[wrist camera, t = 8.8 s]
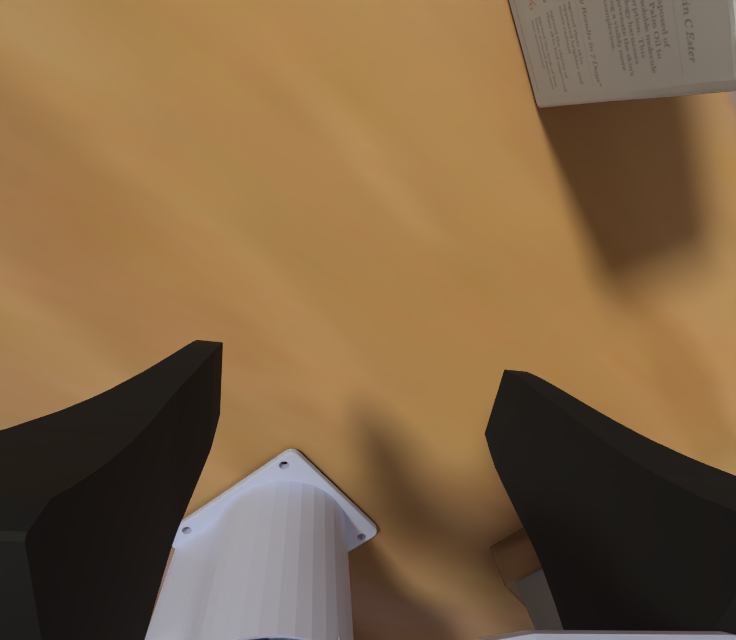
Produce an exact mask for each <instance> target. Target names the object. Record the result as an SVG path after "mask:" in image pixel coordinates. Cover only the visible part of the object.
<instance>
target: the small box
mask: <svg viewBox="0 0 736 640" xmlns="http://www.w3.org/2000/svg"><path fill="white" fill-rule="evenodd" d="M509 2H510V6H511V10H512V13H513V17H514V21H515V25H516V28H517V32H518V36H519V39H520V43H521V47H522V50H523V54H524V57H525V61H526V65H527V69H528V72H529V76H530V80H531V84H532V87H533V91H534V95H535V99H536V103H537V105H538V107H540V108H544V107H554V106H564V105H575V104H586V103H595V102H608V101H621V100H632V99H645V98H661V97H674V96H684V95H695V94H704V93H718V92H730V91H736V0H509Z"/></svg>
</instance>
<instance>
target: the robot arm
mask: <svg viewBox="0 0 736 640" xmlns="http://www.w3.org/2000/svg"><path fill="white" fill-rule="evenodd" d="M222 349H223V343H222V342H212V341H202V340H196V341H194V342H192V343H190V344H188V345H187V346H185V347H183V348H182V349H180V350H179V351H177V352H175V353H174V354H172V355H171V356H169V357H167V358H166V359H164V360H162V361H161V362H159V363H157V364H156V365H154V366H152V367H151V368H149V369H147V370H146V371H144V372H142V373H140V374H138V375H136V376H134V377H132V378H131V379H129V380H127V381H125V382H123V383H121V384H119V385H117V386H115V387H114V388H112V389H110V390H108V391H105V392H103V393H101V394H99V395H97V396H95V397H92V398H90V399H88V400H85V401H83V402H81V403H78V404H76V405H73V406H71V407H68V408H66V409H63V410H61V411H58V412H55V413H52V414H49V415H46V416H43V417H40V418H37V419H34V420H31V421H28V422H25V423H22V424H19V425H16V426H13V427H10V428H7V429H4V430H0V640H354V637H353V621H352V606H351V590H350V574H349V558H348V552H349V551H351V550H353V549H354V548H356V547H357V546H359V545H361V544H362V543H364V542H366V541H367V540H369V539H371V538H372V537H374V536H375V535H376V533H377V529H376V525H375V524H374V523H373V522H372V521H371V520H370V519H369V518H368V517H367V516H366V515H365V514H364V513H363V512H362V511H361V510H360V509H359V508H358V507H357V506H356V505H355V504H353V503H352V502H351V501H350V500H349V499H348V498H347V497H346V496H345V495H344V494H343V493H342V492H341V491H340V490H339V489H338V488H337V487H336V486H335V485H334V484H333V483H332V482H330V481H329V480H328V479H327V478H326V477H325V476H324V475H323V474H322V473H321V472H320V471H319V470H318V469H317V468H316V467H315V466H314V465H313V464H312V463H311V462H310V461H309V460H307V459H306V458H305V457H304V456H303V455H302V454H301V453H300V452H299V451H298V450H296V449H288V450H286V451H284V452H283V453H281V454H280V455H278V456H277V457H275V458H274V459H272V460H271V461H269V462H268V463H266V464H265V465H263V466H262V467H261V468H259V469H258V470H256V471H255V472H253V473H252V474H250V475H249V476H247V477H246V478H244V479H243V480H241V481H240V482H238V483H237V484H235V485H234V486H232V487H231V488H229V489H228V490H226V491H225V492H224V493H222V494H221V495H219V496H218V497H216V498H215V499H213V500H212V501H210V502H209V503H207V504H206V505H204V506H203V507H201V508H200V509H198V510H197V511H195V512H194V513H192V514H191V515H190V516H188V517H187V518H185V519H184V520H182V518H183V516H184V514H185V511H186V509H187V506H188V504H189V501H190V499H191V497H192V494H193V492H194V489H195V487H196V484H197V482H198V480H199V477H200V475H201V472H202V470H203V467H204V465H205V462H206V460H207V457H208V455H209V452H210V450H211V447H212V443H213V439H214V435H215V432H216V428H217V424H218V420H219V416H220V399H221V374H222ZM485 436H486V440H487V443H488V447H489V450H490V453H491V456H492V459H493V462H494V465H495V468H496V470H497V472H498V475H499V477H500V479H501V481H502V483H503V485H504V487H505V489H506V491H507V494H508V496H509V498H510V500H511V502H512V504H513V506H514V508H515V510H516V512H517V514H518V516H519V518H520V520H521V522H522V524H523V526H524V528H525V531H526V533H527V535H528V537H529V539H530V541H531V543H532V545H533V547H534V550H535V552H536V554H537V557H538V559H539V561H540V564H541V567H542V569H543V572H544V575H545V578H546V580H547V583H548V586H549V589H550V591H551V594H552V597H553V600H554V603H555V606H556V609H557V612H558V615H559V618H560V621H561V624H562V627H563V630H523V631H517V632H511V633H505V634H499V635H493V636H487V637H481V638H478V639H477V640H736V476H735V475H732V474H729V473H727V472H724V471H722V470H719V469H717V468H714V467H711V466H709V465H706V464H704V463H701V462H699V461H697V460H694V459H692V458H689V457H687V456H685V455H683V454H680V453H678V452H676V451H674V450H672V449H670V448H667V447H665V446H663V445H661V444H659V443H657V442H654V441H652V440H650V439H648V438H646V437H644V436H642V435H640V434H638V433H637V432H635V431H633V430H631V429H629V428H627V427H625V426H623V425H622V424H620V423H618V422H616V421H614V420H612V419H611V418H609V417H607V416H605V415H604V414H602V413H600V412H598V411H597V410H595V409H593V408H591V407H590V406H588V405H586V404H585V403H583V402H581V401H579V400H578V399H576V398H574V397H573V396H571V395H569V394H568V393H566V392H564V391H563V390H561V389H559V388H557V387H556V386H554V385H552V384H550V383H549V382H547V381H545V380H543V379H541V378H539V377H537V376H535V375H533V374H531V373H528V372H524V371H513V370H504V373H503V376H502V379H501V383H500V386H499V389H498V392H497V396H496V399H495V402H494V405H493V409H492V412H491V415H490V418H489V422H488V425H487V428H486V431H485ZM281 462H287V463H288V464H282V463H281ZM186 527H189V528H186ZM359 534H362V535H359ZM171 547H173V548H175V552H174V555H173V557H172V560H171V563H170V566H169V569H168V572H167V575H166V578H165V581H164V584H163V587H162V590H161V593H160V596H159V599H158V602H157V604H156V607H155V610H154V613H153V616H152V619H151V615H152V612H153V608H154V605H155V601H156V598H157V594H158V591H159V587H160V584H161V581H162V577H163V574H164V570H165V567H166V564H167V560H168V557H169V554H170V550H171ZM150 619H151V622H150ZM149 623H150V625H149ZM148 626H149V628H148ZM147 630H148V631H147ZM146 633H147V634H146Z"/></svg>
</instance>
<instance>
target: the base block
mask: <svg viewBox="0 0 736 640" xmlns="http://www.w3.org/2000/svg"><path fill="white" fill-rule="evenodd" d="M490 549H491V551H492V554H493V556H494V559H495V561H496V564H497V567H498V569H499V572H500V574H501V577H502V579H503V582H504V584H505V586H506V587H507V588H508V589H509V590H510V591H511V592H512V593H513V594H514V595H515V596H516V597H517V598H518V599H519V600H520V601H521V602H522V603H523V604H524V605H525V603H524V601H523V598H522V596H521V594H520V591H519V589H518V587H517V584H516V581H519V580H521V579H523V578H525V577H527V576H529V575H531V574H533V573H535V572H538V571H540V570H542V567H541V564H540V561H539V559H538V557H537V554H536V552H535V550H534V547H533V545H532V543H531V541H530V539H529V537H528V535H527V533H526V531H525V528H522V529H520V530H519V531H517V532H515V533H513V534H512V535H510V536H508V537H507V538H505V539H503V540H502V541H500V542H498V543H497V544H495V545H493V546H492V547H490Z"/></svg>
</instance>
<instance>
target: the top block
mask: <svg viewBox="0 0 736 640" xmlns="http://www.w3.org/2000/svg"><path fill="white" fill-rule="evenodd" d="M516 584H517V587H518V589H519V591H520V594H521V596H522V598H523V601H524V603H525V606H526V608H527V610H528V613H529V615H530V617H531V620H532V622H533V625H534V627H535V629H536V630H561V628H563V627H562V624H561V621H560V618H559V615H558V612H557V609H556V606H555V603H554V600H553V597H552V594H551V591H550V589H549V586H548V583H547V580H546V578H545V575H544V572H543V569H542V570H540V571H538V572H535V573H533V574H531V575H529V576H527V577H525V578H523V579H521V580H519V581H516Z"/></svg>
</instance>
